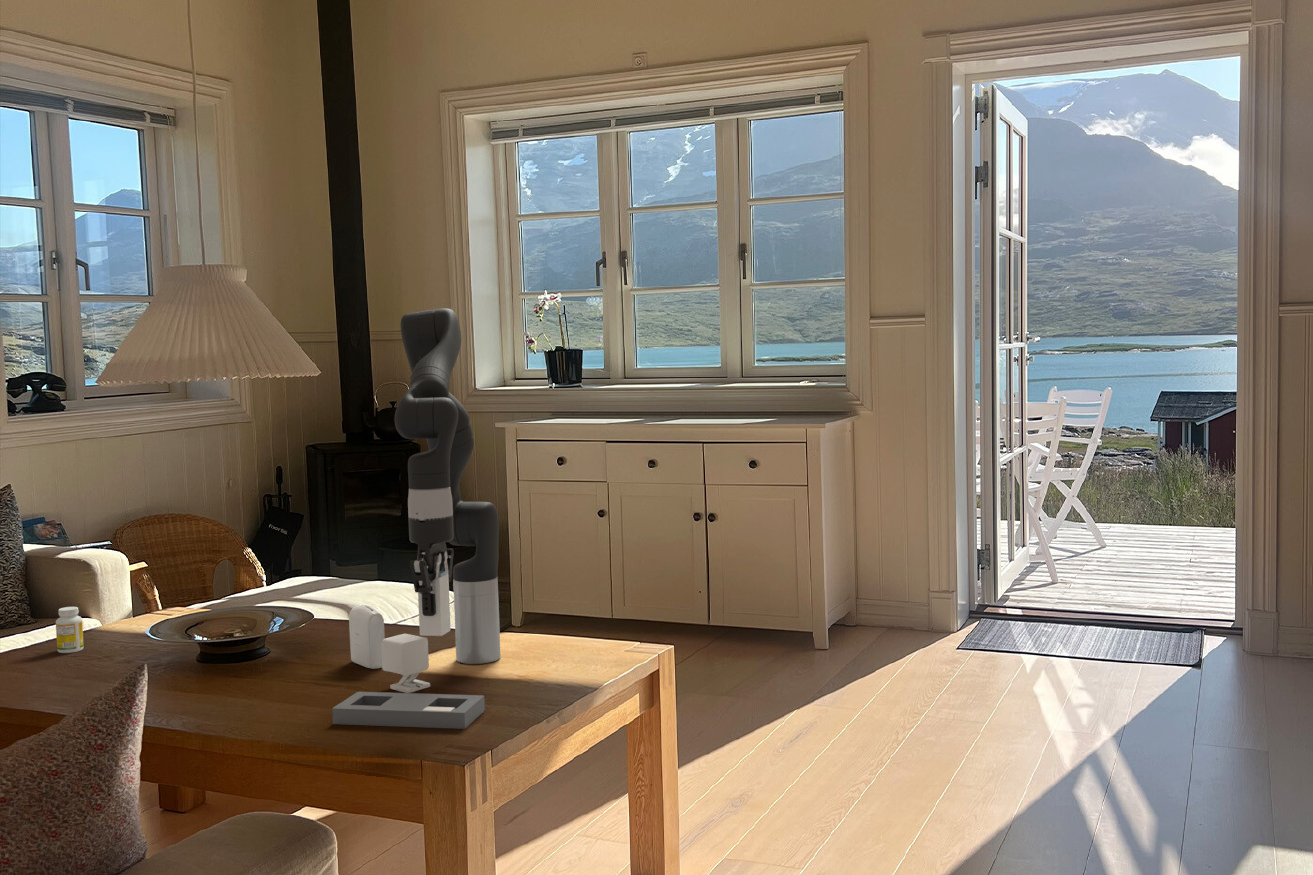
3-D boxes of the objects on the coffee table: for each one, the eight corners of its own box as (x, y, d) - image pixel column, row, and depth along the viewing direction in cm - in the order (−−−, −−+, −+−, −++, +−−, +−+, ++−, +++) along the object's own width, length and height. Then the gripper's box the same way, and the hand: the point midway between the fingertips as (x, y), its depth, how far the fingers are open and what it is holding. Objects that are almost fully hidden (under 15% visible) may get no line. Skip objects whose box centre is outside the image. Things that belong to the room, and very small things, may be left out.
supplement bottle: (67, 654, 255) (64, 611, 254) (52, 652, 257) (49, 610, 256) (89, 648, 259) (86, 606, 259) (73, 646, 262) (71, 605, 261)
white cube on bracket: (409, 683, 224) (407, 632, 224) (432, 688, 220) (430, 637, 219) (383, 690, 219) (380, 639, 219) (406, 696, 215) (404, 644, 214)
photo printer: (348, 661, 242) (345, 603, 241) (367, 657, 245) (364, 600, 244) (369, 671, 234) (366, 611, 233) (388, 667, 237) (386, 608, 236)
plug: (429, 629, 201) (426, 570, 200) (450, 630, 200) (448, 570, 199) (419, 635, 197) (417, 574, 196) (441, 635, 196) (439, 574, 195)
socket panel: (358, 709, 208) (357, 690, 207) (484, 713, 203) (484, 694, 203) (333, 727, 198) (332, 707, 198) (465, 732, 193) (464, 711, 193)
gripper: (426, 508, 205) (430, 603, 206) (392, 519, 191) (396, 621, 192) (466, 508, 203) (470, 604, 204) (434, 519, 189) (438, 622, 190)
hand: (434, 612), depth 198 cm, fingers closed on plug, 4 cm apart
